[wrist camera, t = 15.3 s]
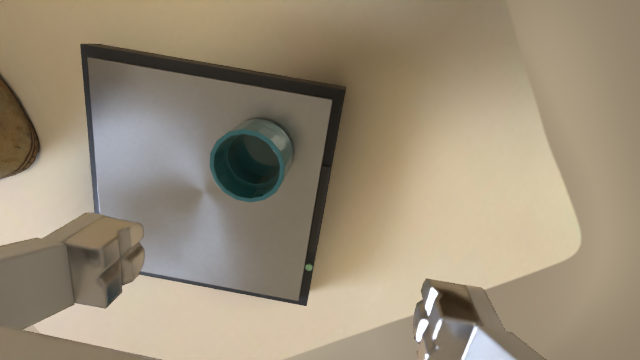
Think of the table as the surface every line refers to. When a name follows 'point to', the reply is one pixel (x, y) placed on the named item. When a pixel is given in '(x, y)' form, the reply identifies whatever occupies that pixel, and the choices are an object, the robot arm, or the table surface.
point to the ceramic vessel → (14, 136)
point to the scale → (208, 167)
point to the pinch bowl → (251, 160)
